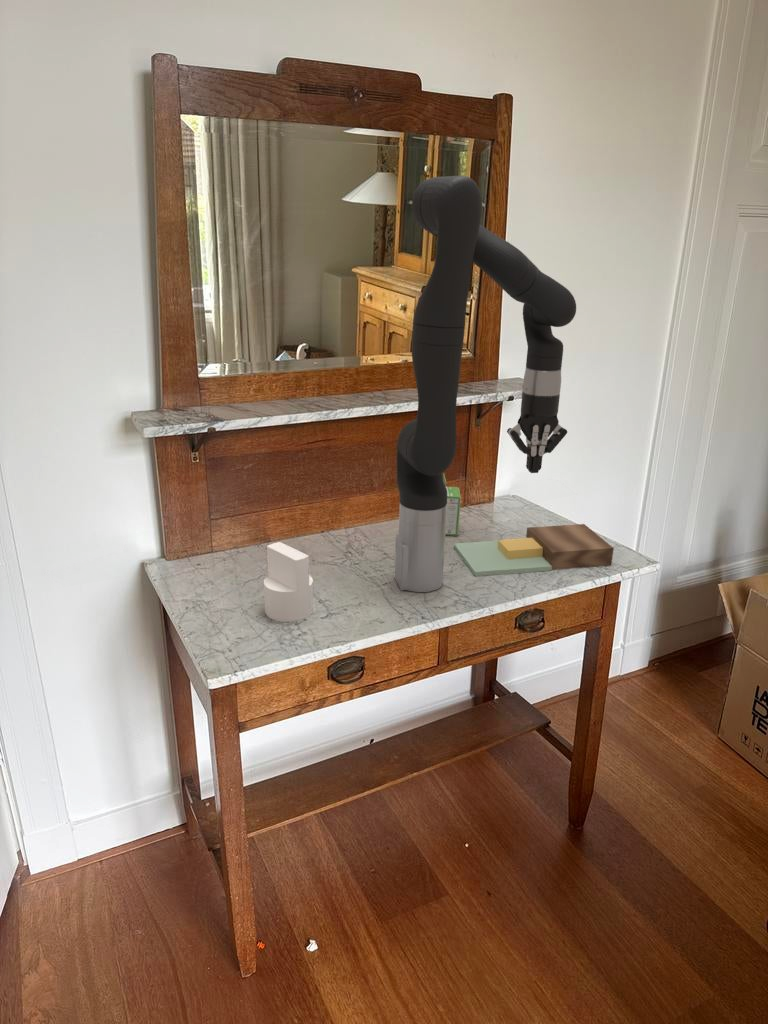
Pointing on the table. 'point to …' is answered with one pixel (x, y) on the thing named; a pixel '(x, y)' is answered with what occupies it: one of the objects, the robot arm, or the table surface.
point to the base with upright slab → (287, 584)
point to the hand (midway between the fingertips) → (533, 471)
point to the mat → (496, 560)
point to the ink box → (452, 510)
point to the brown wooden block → (571, 546)
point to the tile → (520, 548)
